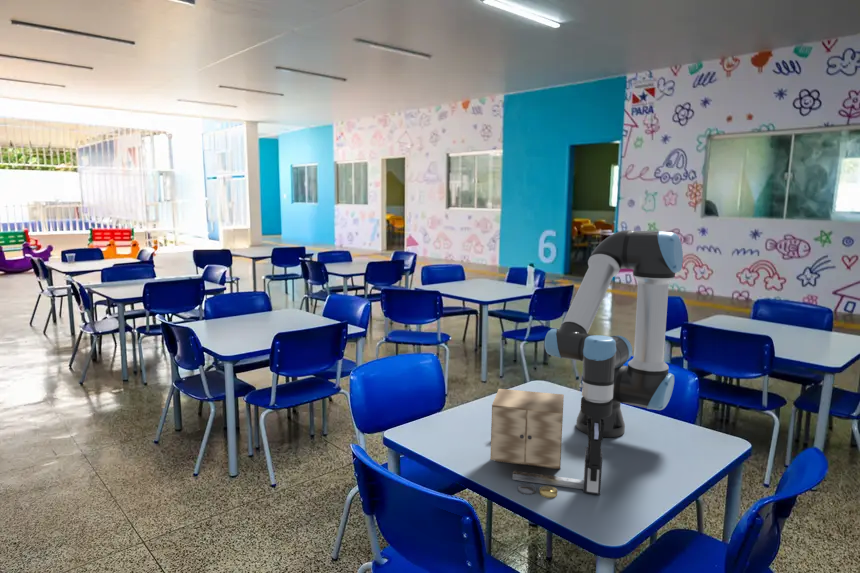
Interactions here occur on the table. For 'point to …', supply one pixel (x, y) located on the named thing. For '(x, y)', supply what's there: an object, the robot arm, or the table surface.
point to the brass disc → (548, 491)
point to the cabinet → (527, 428)
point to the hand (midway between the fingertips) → (591, 485)
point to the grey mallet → (561, 480)
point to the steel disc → (526, 488)
